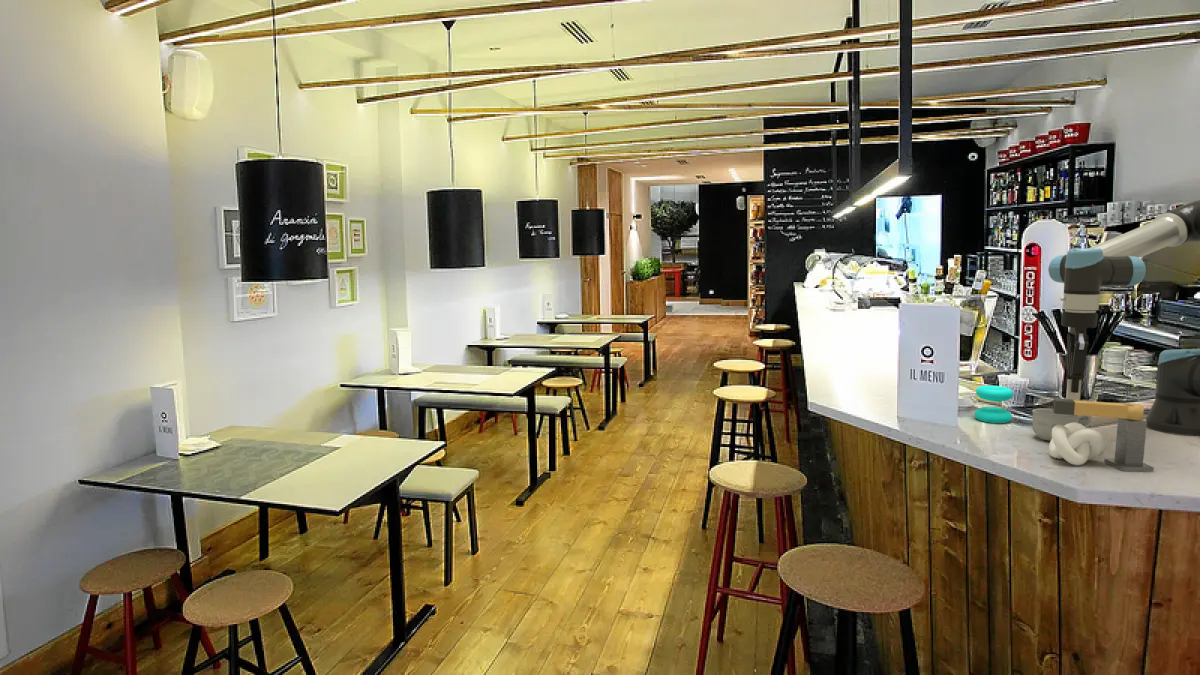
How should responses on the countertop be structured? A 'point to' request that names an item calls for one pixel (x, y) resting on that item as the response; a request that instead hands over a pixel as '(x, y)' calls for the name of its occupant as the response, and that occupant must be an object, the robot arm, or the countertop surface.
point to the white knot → (1075, 443)
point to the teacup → (1052, 421)
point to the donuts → (993, 412)
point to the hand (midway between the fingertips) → (1072, 404)
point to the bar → (1098, 409)
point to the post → (1130, 446)
